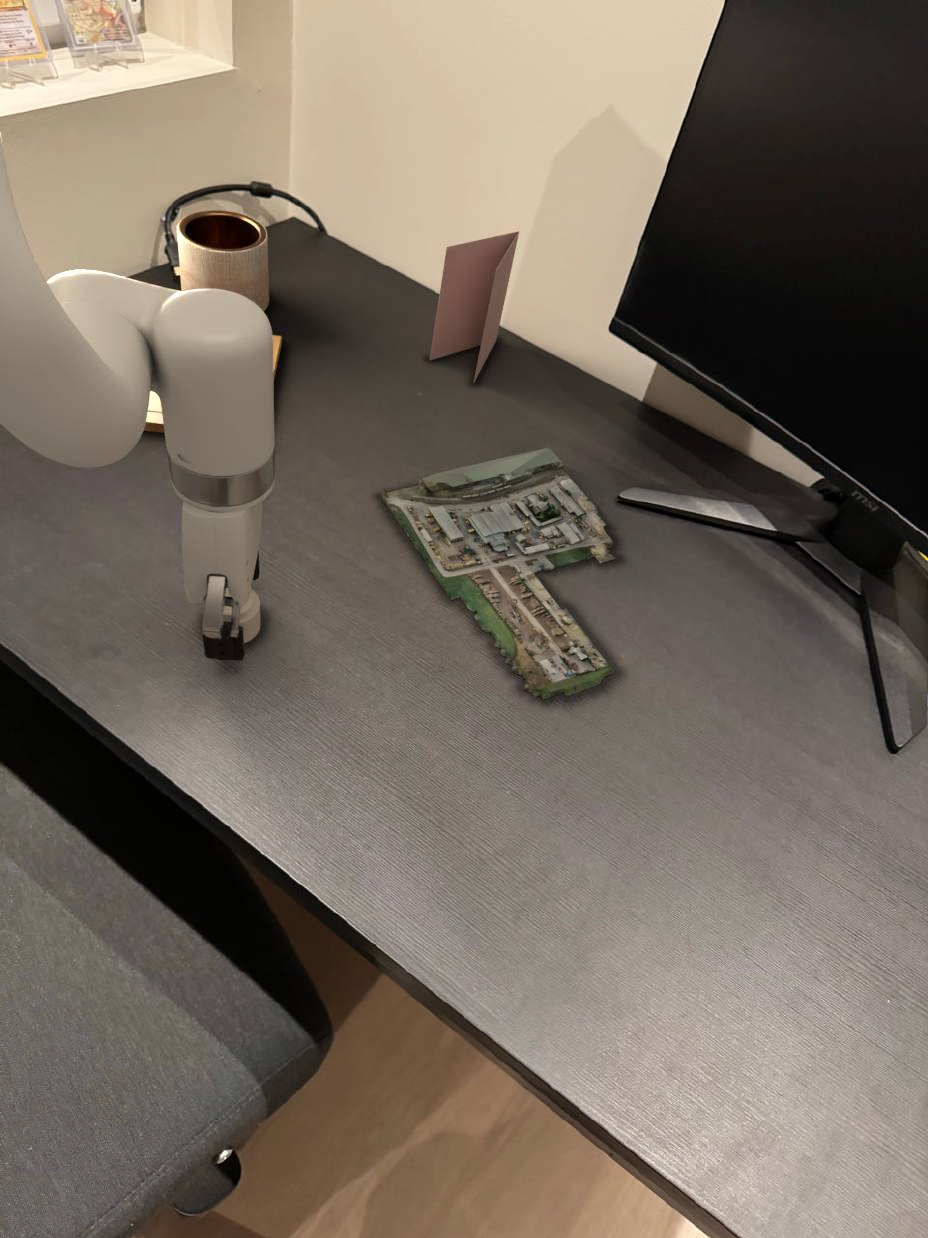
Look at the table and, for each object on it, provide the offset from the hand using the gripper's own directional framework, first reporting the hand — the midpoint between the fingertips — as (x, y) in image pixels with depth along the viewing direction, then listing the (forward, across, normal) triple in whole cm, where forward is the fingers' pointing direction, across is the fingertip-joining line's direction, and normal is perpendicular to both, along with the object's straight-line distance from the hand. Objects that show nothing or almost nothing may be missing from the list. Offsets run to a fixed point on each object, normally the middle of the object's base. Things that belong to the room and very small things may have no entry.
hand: (233, 614), depth 75 cm
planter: (+2, -54, -9) cm, 55 cm away
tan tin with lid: (+1, 0, 0) cm, 1 cm away
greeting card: (+2, -48, +24) cm, 54 cm away
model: (+2, -11, +29) cm, 31 cm away
